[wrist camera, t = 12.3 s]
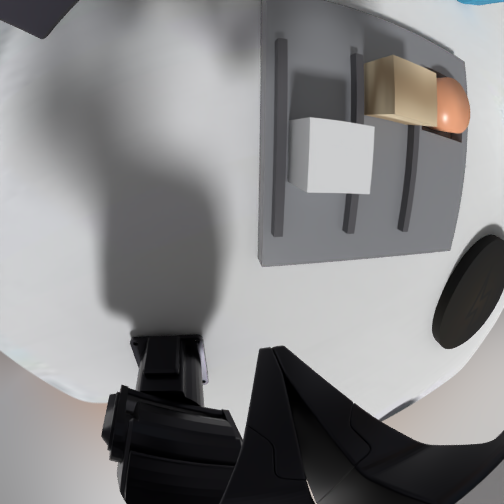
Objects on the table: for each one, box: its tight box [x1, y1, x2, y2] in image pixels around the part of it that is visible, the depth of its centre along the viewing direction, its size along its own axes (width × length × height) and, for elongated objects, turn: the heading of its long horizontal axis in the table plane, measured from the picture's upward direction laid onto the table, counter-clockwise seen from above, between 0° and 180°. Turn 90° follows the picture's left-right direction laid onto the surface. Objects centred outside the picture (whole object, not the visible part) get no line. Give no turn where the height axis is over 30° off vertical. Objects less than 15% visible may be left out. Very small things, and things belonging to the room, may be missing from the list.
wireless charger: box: [432, 235, 504, 349], centre depth 29 cm, size 18×18×2 cm
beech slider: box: [364, 55, 437, 127], centre depth 14 cm, size 4×4×4 cm
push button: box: [427, 77, 470, 133], centre depth 16 cm, size 5×5×3 cm
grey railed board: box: [258, 0, 468, 267], centre depth 17 cm, size 20×20×2 cm
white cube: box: [287, 117, 375, 194], centre depth 15 cm, size 4×4×4 cm
